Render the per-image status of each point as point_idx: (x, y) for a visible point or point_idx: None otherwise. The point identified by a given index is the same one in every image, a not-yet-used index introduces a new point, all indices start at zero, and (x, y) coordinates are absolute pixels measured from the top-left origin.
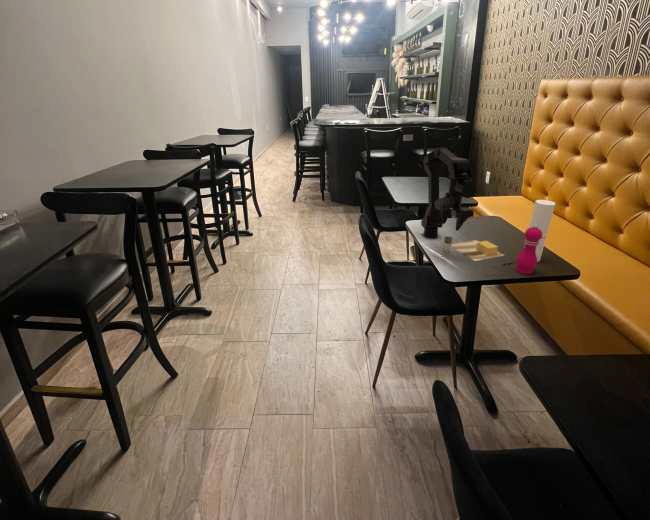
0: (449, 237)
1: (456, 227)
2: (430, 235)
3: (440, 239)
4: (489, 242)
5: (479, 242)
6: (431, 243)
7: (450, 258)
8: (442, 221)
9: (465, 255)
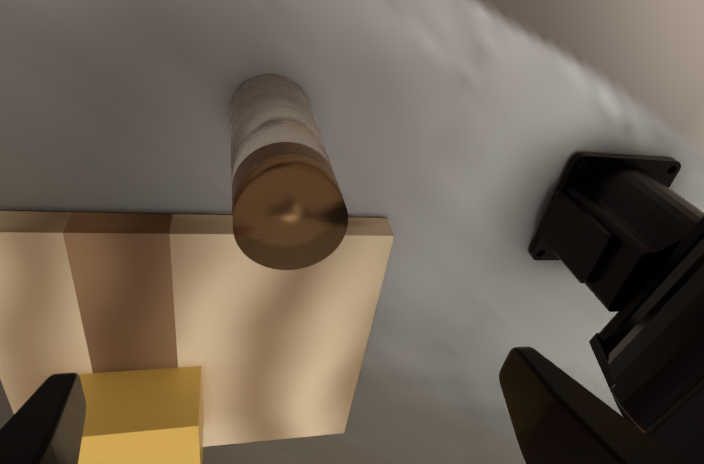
0: (298, 242)
1: (4, 445)
2: (605, 207)
3: (526, 266)
4: None
5: (187, 435)
6: (532, 158)
7: (170, 91)
8: (561, 371)
9: (110, 234)
